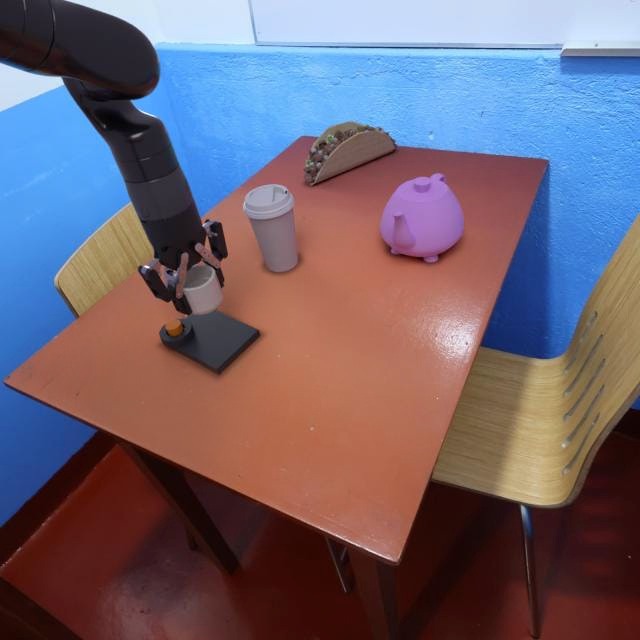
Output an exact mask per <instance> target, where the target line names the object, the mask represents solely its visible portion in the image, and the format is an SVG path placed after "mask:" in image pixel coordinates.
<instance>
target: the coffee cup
mask: <svg viewBox="0 0 640 640" xmlns="http://www.w3.org/2000/svg"><path fill="white" fill-rule="evenodd" d="M295 204H296V200H295V198H294V195H293V193H291V192H290V191H289V189H288V188H287V187H286V186H285V185H282V184H276V183H275V184H273V183H271V184H264V185H260V186H257V187H255V188H253V189H251V190H250V191H249V192H247V193H246V195H245V197H244V201H243V205H242V209H243V210H242V212H243V214H244V215H245V217H247V218H248V220H249V223H250V226H251V229H252V231H253V233H254V237H255V239H256V242H257V244H258V247H259V250H260V252H261V255H262V258H263V260H264V264H265V265H266V268H267V270H269V271H271V272H273V273H284V272H288V271H290V270H293V269H294V268H295V267H296V266H297V265H298V263H299V255H298V245H297V244H298V243H297V235H296V224H295V223H296V222H295V214H294V206H295Z"/></svg>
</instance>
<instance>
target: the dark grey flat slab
mask: <svg viewBox="0 0 640 640" xmlns="http://www.w3.org/2000/svg"><path fill="white" fill-rule="evenodd" d="M177 319H178V320H180V322H181V324H182V326H183V328H184V329H183V332H182V333H181V334H179V335H176V336H170V335H169V334H168V332H167V330H166V328H165V326H166V324H167V323H168V322H169V321H168V322H167V321H166V323H165V324H164V325H162V326H161V328H160V329H159V332H158V335H159V339H160V341H161V343H162V345H163V346H166V347H167V348H169V349H171V350H173V351H175V352H177V353H179V354H181V355H182V356H183V357H186V358H188V359H189V360H191V361H193V362H195V363H197V364H199V365H200V366H202V367H204V368H206V369H207V370H210V371H211V372H213V373H215V374H217V376H220V375H221V374H222V373H223V372H224V371H226V369H227V368H228V367H229V366H230V365H231V364H232V363H233V362H235V360H236V359H238V358H239V356H241V355H242V354H243V353H244V352H245V351H246V350H247V349H248V348H250V346H251V345H253V343H255V341H256V340H257V339H259V337H261V333H260V330H259V329H258V328H256V327H254V326H252V325H249V324H247V323H244V322H243V321H241V320H238V319H236V318H234V317H231V316H229V315H227V314H226V313H223V312H220V311H219V310H217V309H215V310H213V311H211V312H209V313H206V314H202V315H196V314H192V313H191V314H190V315H189V316H188V315H186V317H184V318H177Z"/></svg>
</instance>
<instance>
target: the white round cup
mask: <svg viewBox="0 0 640 640" xmlns="http://www.w3.org/2000/svg"><path fill="white" fill-rule="evenodd" d="M174 285H175V284H174ZM183 294H184V295H185V296H186V298H187V300H188V303H189V305H190V307H191V310H192V314H196V315H202V314H206V313H209V312H211V311H213V310H217V309H218V307H220V306H221V304H222V302H223V297H224V292H223V288H222V289H221V286H220V283H219V280H218V278H217V275H216V272H215V270H214V269H213V267H211V266H209V265H207V264H202V263H201V264H199V263H198V264H196V265H193V266H192V268H191V269H190V270H189V271H187V272H186V282H184V285H183Z"/></svg>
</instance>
